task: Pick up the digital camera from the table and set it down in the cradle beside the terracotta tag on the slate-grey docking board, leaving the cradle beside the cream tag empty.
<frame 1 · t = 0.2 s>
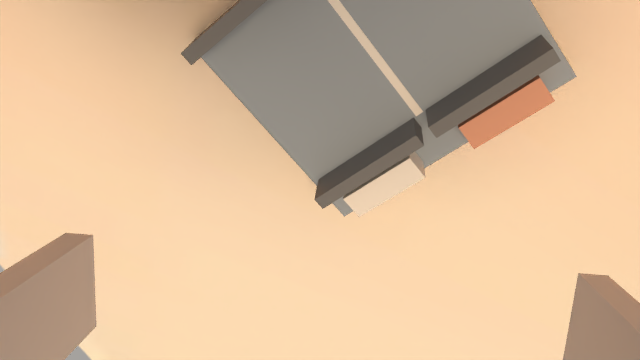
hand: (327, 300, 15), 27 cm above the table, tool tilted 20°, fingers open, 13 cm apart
docking board: (379, 54, 39), on the table
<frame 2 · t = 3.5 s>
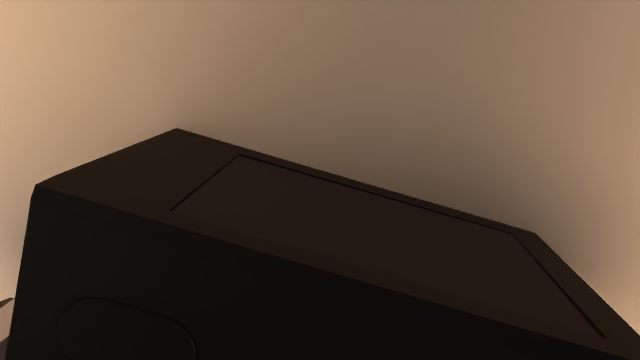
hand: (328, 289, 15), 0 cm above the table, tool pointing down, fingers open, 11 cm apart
digital camera: (327, 265, 16), on the table, touching gripper
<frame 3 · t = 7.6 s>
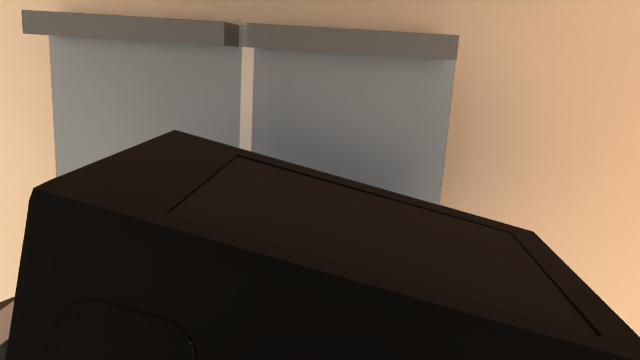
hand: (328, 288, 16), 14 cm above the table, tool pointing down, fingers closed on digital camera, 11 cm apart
digital camera: (326, 265, 16), point 13 cm above the table, touching gripper
docking board: (248, 199, 30), on the table
when the fingers open (2 cm above the table, at t = 10.5 s): digital camera stays where it is, resting on docking board.
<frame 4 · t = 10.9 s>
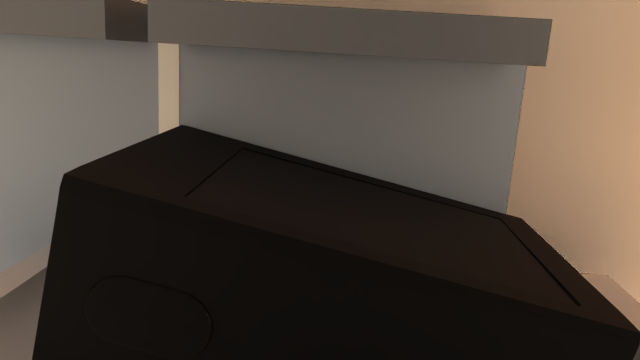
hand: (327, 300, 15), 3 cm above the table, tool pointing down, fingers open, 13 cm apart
digital camera: (326, 252, 17), point 1 cm above the table, touching docking board
docking board: (182, 287, 18), on the table
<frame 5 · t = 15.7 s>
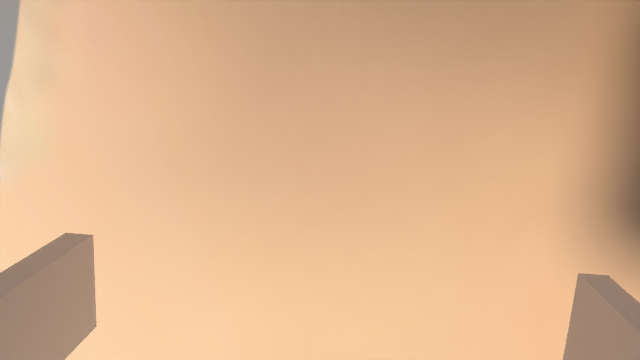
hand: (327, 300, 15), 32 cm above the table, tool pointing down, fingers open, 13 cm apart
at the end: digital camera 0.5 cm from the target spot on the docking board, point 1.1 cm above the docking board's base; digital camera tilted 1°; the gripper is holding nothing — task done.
